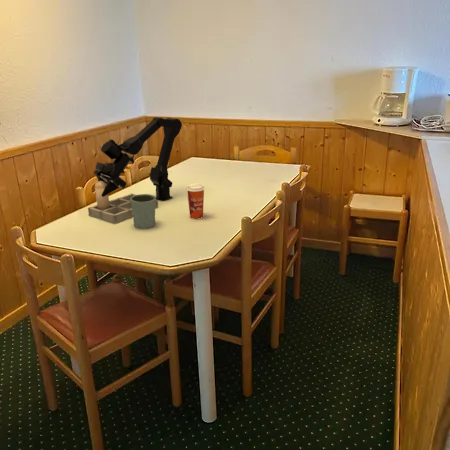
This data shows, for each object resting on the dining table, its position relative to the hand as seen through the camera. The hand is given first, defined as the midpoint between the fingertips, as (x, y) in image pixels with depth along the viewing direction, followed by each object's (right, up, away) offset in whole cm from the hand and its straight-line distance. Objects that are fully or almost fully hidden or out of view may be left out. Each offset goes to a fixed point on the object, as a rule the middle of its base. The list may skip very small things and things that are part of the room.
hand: (99, 194), depth 190 cm
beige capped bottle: (+1, -6, +3) cm, 7 cm away
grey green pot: (+21, -13, -8) cm, 26 cm away
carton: (+9, -7, +8) cm, 14 cm away
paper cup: (+42, -10, +1) cm, 43 cm away
